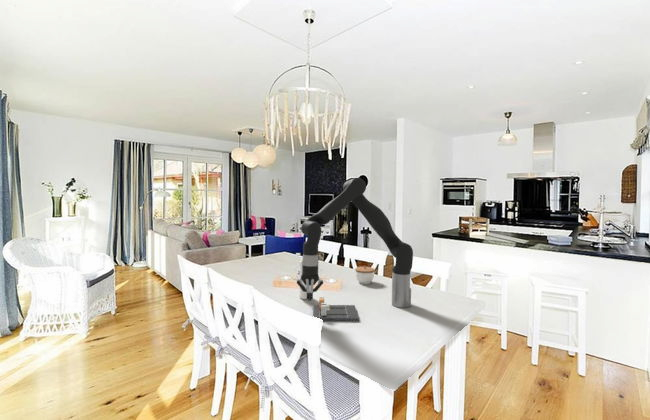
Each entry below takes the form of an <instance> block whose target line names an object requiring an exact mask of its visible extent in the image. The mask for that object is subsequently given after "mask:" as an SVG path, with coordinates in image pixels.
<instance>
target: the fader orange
mask: <svg viewBox="0 0 650 420" xmlns="http://www.w3.org/2000/svg"><path fill="white" fill-rule="evenodd" d="M318 299H319V301H318V305H319V309H321V303H325V297H324V296H323V297H320V296H319V298H318Z"/></svg>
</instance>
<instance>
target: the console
mask: <svg viewBox="0 0 650 420" xmlns="http://www.w3.org/2000/svg"><path fill="white" fill-rule="evenodd" d="M312 311H313V313H312V317H313V316H314V317H317V318H320V319H322V320H323V321H322V322H359V320H360V319H359V315H358V312H357V311H358V310H357V308H356V305H355V304H354V305H353V304H327V316H321V309H319V304H313V310H312Z"/></svg>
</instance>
